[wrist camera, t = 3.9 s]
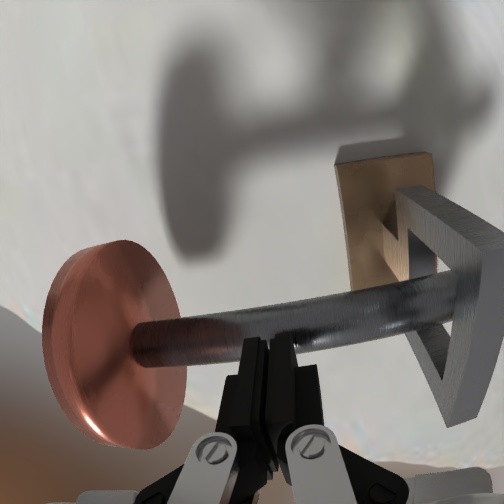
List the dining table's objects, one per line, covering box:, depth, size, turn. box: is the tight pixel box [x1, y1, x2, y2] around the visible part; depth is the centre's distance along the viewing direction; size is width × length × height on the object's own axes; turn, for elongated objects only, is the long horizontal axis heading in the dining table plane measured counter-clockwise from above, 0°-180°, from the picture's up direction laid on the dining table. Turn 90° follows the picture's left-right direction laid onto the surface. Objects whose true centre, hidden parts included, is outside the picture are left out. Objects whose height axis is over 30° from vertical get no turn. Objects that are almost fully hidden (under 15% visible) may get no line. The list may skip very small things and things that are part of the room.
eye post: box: [334, 152, 504, 428], centre depth 14 cm, size 10×6×12 cm, turn 13°
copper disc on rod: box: [42, 240, 457, 449], centre depth 13 cm, size 10×21×10 cm, turn 103°
